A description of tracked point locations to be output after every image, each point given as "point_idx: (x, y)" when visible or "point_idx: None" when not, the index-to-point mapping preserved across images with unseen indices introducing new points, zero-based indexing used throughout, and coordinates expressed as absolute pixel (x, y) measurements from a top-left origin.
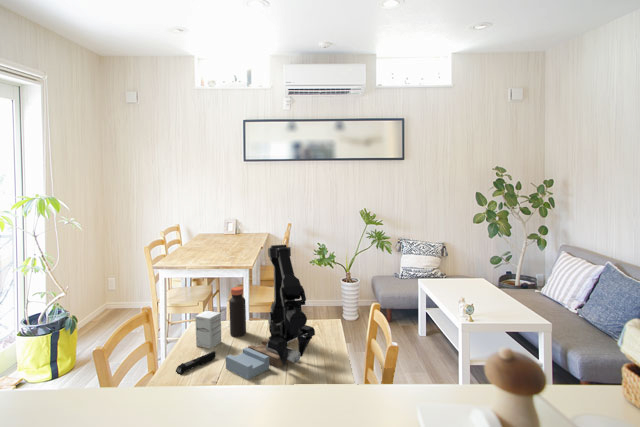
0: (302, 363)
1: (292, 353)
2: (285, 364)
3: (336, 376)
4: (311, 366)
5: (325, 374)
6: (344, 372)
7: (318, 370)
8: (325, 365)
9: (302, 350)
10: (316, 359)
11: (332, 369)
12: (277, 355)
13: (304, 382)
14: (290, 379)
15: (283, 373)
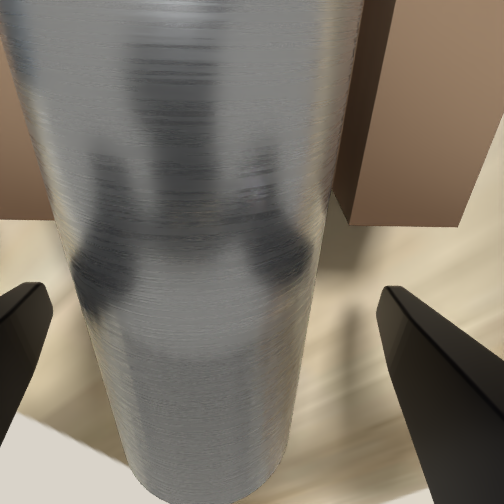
0: (336, 285)
1: (137, 468)
2: (50, 320)
3: (299, 497)
4: (328, 366)
5: (281, 463)
6: (367, 500)
7: (301, 422)
8: (401, 416)
9: (407, 406)
10: (481, 328)
11: (367, 460)
12: (15, 113)
13: (100, 442)
14: (33, 373)
15: (34, 278)
